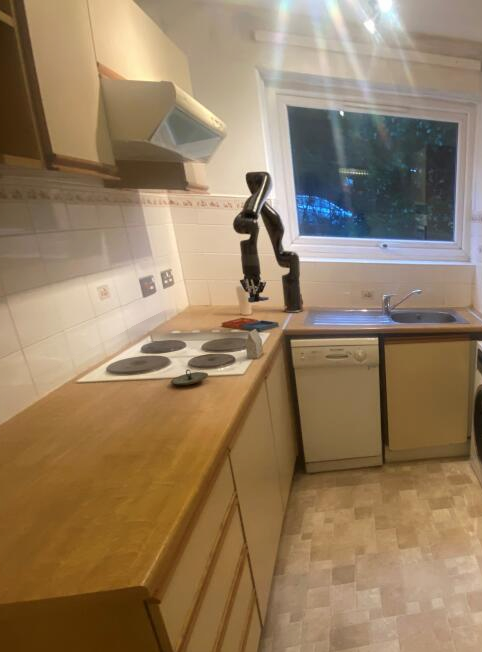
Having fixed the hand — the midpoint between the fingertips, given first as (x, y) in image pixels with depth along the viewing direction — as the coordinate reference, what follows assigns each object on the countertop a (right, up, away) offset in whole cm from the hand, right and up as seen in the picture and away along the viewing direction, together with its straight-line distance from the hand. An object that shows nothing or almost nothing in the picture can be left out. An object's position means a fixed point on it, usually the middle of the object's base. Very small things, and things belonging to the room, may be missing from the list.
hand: (255, 301), depth 206 cm
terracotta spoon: (-11, -10, +8) cm, 17 cm away
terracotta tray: (-11, -10, +8) cm, 17 cm away
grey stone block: (+18, -29, -36) cm, 49 cm away
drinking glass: (-19, -1, +30) cm, 36 cm away
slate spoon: (+1, 0, +2) cm, 2 cm away
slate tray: (0, -12, +5) cm, 13 cm away
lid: (+11, -39, -66) cm, 77 cm away
